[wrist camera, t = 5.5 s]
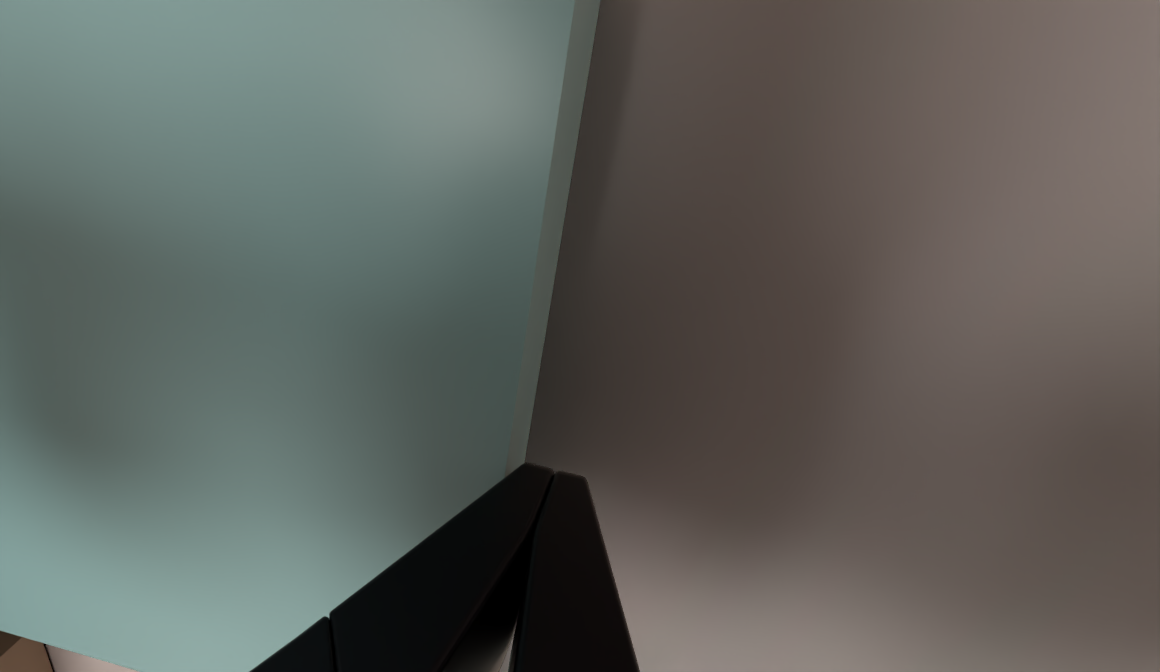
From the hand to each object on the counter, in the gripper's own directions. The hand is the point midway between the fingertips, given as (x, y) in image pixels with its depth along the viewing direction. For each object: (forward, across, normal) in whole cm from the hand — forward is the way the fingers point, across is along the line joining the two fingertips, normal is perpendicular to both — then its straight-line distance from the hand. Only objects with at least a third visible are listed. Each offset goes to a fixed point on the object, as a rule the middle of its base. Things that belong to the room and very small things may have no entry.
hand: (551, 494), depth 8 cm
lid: (+2, +7, 0) cm, 7 cm away
